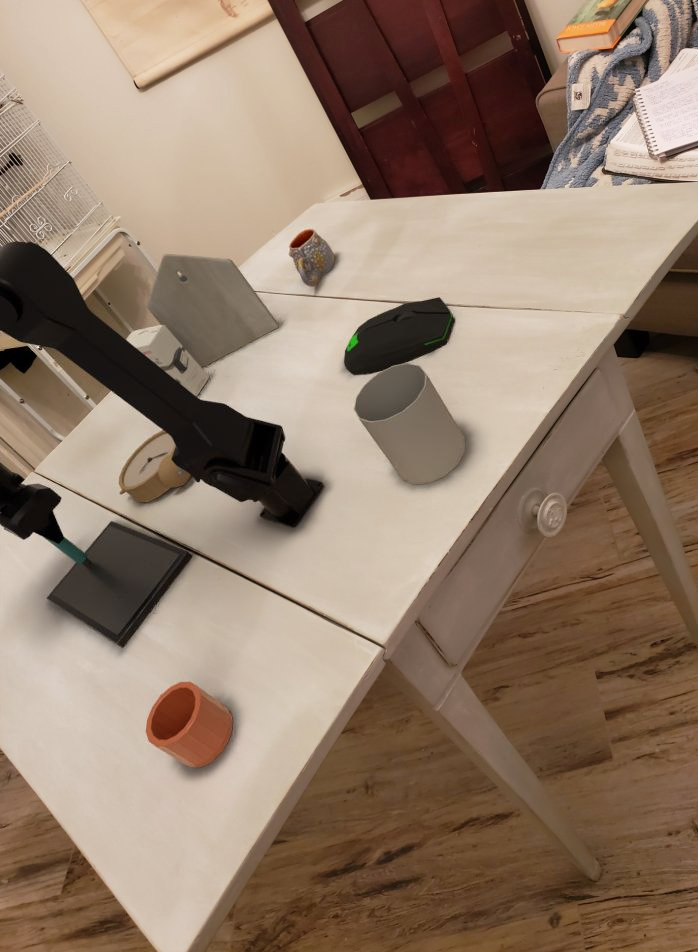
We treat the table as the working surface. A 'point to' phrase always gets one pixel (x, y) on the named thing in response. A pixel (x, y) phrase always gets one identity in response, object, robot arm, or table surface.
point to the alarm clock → (152, 469)
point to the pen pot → (189, 725)
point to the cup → (410, 423)
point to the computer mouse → (399, 336)
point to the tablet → (119, 581)
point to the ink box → (169, 356)
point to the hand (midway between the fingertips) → (58, 539)
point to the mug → (311, 256)
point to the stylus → (72, 551)
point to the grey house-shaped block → (208, 306)
